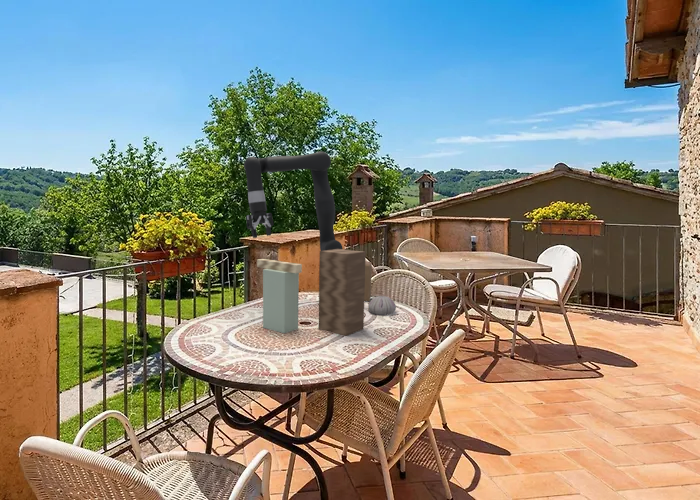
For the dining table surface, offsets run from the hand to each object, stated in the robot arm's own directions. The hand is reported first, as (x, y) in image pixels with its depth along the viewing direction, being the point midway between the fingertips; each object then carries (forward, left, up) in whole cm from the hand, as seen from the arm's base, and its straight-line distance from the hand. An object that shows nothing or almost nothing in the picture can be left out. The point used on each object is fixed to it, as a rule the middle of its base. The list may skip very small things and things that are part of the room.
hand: (262, 236), depth 204 cm
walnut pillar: (-16, +43, -35) cm, 58 cm away
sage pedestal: (+5, +30, -35) cm, 46 cm away
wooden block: (-55, +3, -35) cm, 65 cm away
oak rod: (+5, +29, -11) cm, 31 cm away
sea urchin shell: (-48, +30, -35) cm, 66 cm away
